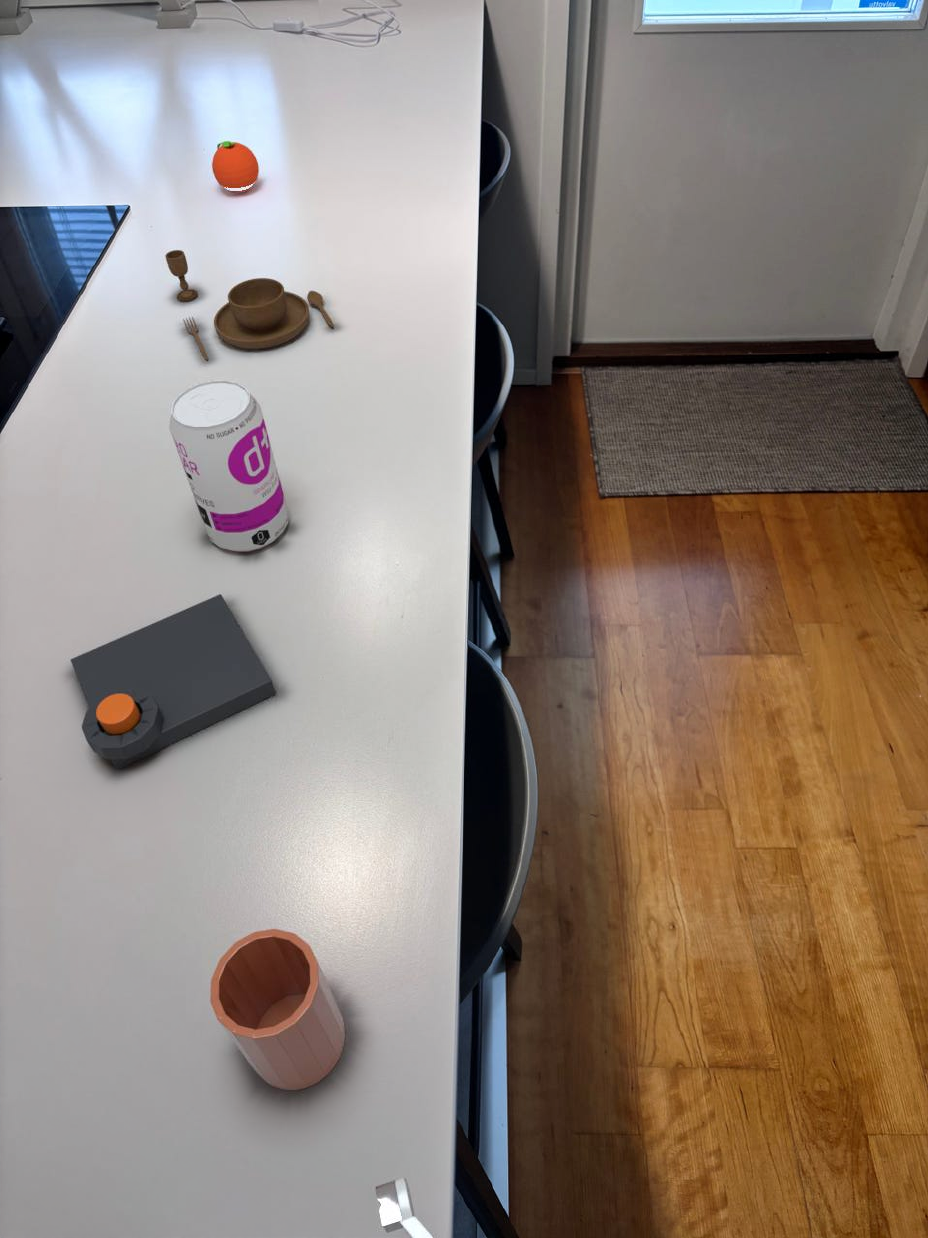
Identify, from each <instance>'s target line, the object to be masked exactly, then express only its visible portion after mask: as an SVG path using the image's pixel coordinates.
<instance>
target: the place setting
mask: <svg viewBox="0 0 928 1238" xmlns="http://www.w3.org/2000/svg"><path fill="white" fill-rule="evenodd" d="M164 257H165V261H166V264H167V266H168V269H169V272H170V273H171V274H172V275H173V276H174V277H177V278H178V280H179V287H180V289H181V290H182V291H180V292H179V293H177V295H176V299H177V301H179V302H181V303H188V302H191V301H194V300H195V299H198V295H199V293H198V291H197V290H195V289H189V283H188V281H187V280H186V275H187V274H188V271H189V265H188V262H187V261H188V260H187V257H186V254H185V252H184V251H183V250H181V249H174V250H171V251H168V252H167V253H166V254H165V256H164ZM306 298H307V301H308V302H309V303H310V304H311V305H312V306H315V307H317V308H318V309H319V310H320V312H321V314H322V316H323V318H324V319H325V321H326V324H328V326H329V327H331V328H334V327H335V325H334V323H333V320H332V318H331V317H330V316H329V314H328V313H327V311H326V310H325V308H324V307H323V305H322V304H323V301H324V298H323V296H322V294H321V293H319V292H317V291H315V290H309V292H308V293H307V296H306ZM227 300H228V302H226V303H225V304H224V305H222V307H220V308H219V310H218V311H217V312H216V314H215V316H214V317H213V318H214V319H213V326H214V329H215V332H216V334H217V335H218V337H220V338H221V339H222V340H223V341H224V342H226V343H227V344H229V345H231V346H234V347H237V348H241V349H249V350H250V349H253V350H256V349H257V350H258V349H267V348H272V347H276V346H278V345H282V344H284V343H286V342H288V341H291V340H292V339H293V338H295V337H296V336H298V335H299V334H300V333H301V332H302V331H303V330H304V329H305V327H306V326H307V324H308V322H309V318H310V308H309V305H308V303H307V301H306V300H305V298H303V297H301V296H300V295H298V294H297V293H295V292H290V291H285V287H284V285H283V284H282V282H280V281H278V280H276V279H274V278H268V277H257V278H251V279H247V280H244V281H241V282H239V283H238V284H236V285H234V286H233V287H232V288H230V290H229V292H228V294H227ZM188 319H189V320H188ZM182 321H183V323H184V326H185V329H186V330H187V333H188V334H190V335H193V337H194V340H195V342H196V344H197V347H198V349H199V351H200V353H201V355H202V356H203V358H204V360H205V361H206V360H209V357H208V354H207V351H206V350H205V347H204V345H203V343H202V341H201V339H200V337H199V335H198V332H199V328H198V325H197V323H196V321H195V319H194V317H193V316H191V317H188V318H187V317H185V319H184V318H183V319H182Z"/></svg>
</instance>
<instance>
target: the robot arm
mask: <svg viewBox="0 0 928 1238" xmlns="http://www.w3.org/2000/svg"><path fill="white" fill-rule="evenodd" d="M375 1195H376V1199H377V1202H378V1204H379V1205H380V1207H379V1216H380V1221H381V1226H382V1228H383V1230H385V1233H387V1234H388V1233H391V1232H395V1231H398V1230H401V1229H403V1230H404V1231H405V1233H406V1234H407V1235H408V1236H409V1237H410V1238H434V1236H433V1235H432V1234H431V1233H430V1232H429V1230H428V1229H427V1228H426V1227H425V1226H424V1224H423V1222H421V1221H420V1220H419V1218H418V1217H417V1216H416V1215H415V1209H414V1206H413V1200H412V1195H411V1191H410V1188H409V1184H408V1181H407V1179H406V1177H405V1176H403V1177H400V1178H396V1179H393V1180H391V1181H388V1182H385V1183H382V1184H380V1185H376V1186H375Z"/></svg>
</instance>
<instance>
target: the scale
mask: <svg viewBox="0 0 928 1238" xmlns="http://www.w3.org/2000/svg"><path fill="white" fill-rule="evenodd" d="M70 662H71V665H72V668H73V670H74V672H75V676H76V678H77V680H78V682H79V685H80V687H81V690H82V692H83V695H84V697H85V700H86V702H87V705H88V707H89V708H88V709H87V710H86V711H85V715H84V718H83V720H82V724H81V730H82V732H83V733H82V734H84V737H85V740H86V743H88V746H89V747H90V748H91V750H92V752H93V753H94V754H97V755H99V756H100V757H103V758H105V759H107V760H111V762H112V764H113V765H114V767H115V768H116V770H120V769H122V768H125V767H127V766H129V765H131V764H133V763H135V762H138V761H139V760H141V759H143V758H146V757H148V756H150V755H152V754H154V753H156V752H158V751H160V750H162V749H164V748H166V747H169V746H170V745H173V744H175V743H177V742H179V741H181V740H183V739H185V738H187V737H190V736H191V735H193V734H196V733H198V732H199V731H202V730H204V729H206V728H208V727H211V726H212V725H215V724H217V723H219V722H221V721H222V720H225V719H227V718H229V717H231V716H233V715H236V714H237V713H239V712H242V711H244V710H246V709H248V708H250V707H252V706H254V705H256V704H258V703H260V702H262V701H265V700H266V699H269V698H271V697H273V696H275V695H277V691H276V688H275V686H274V682H273V680H272V678H271V677H270V675H269V673H268V671H267V670H266V668H265V667H264V665H263V663H262V662H261V660H260V658H259V656H258V655H257V653H256V651H255V650H254V648H253V646H252V645H251V642H250V641H249V639H248V637H247V636H246V634H245V632H244V631H243V629H242V627H241V625H240V624H239V622H238V621H237V618H236V617H235V616H234V614H233V612H232V610H231V608H230V607H229V605H228V604H227V601H226V600H225V598H224V597H223V594H221V593H220V594H217V595H215V596H212V597H210V598H208V599H206V600H203V601H201V602H199V603H196V604H194V605H192V606H189V607H186V608H185V609H183V610H181V611H178V612H176V613H174V614H171V615H169V616H167V617H165V618H162V619H160V620H158V621H155V622H153V623H150V624H149V625H146V626H144V627H141V628H139V629H137V630H135V631H132V632H130V633H128V634H125V635H123V636H121V637H119V638H116V639H114V640H111V641H109V642H107V643H105V644H102V645H101V646H98V647H95V648H94V649H91V650H88V651H86V652H84V653H81V654H79V655H77V656H75V657H73V658H71V659H70ZM119 693H120V694H126V695H129V696H130V697H131V698H132V699H133V700H134V702H135V704H136V706H137V708H138V710H139V712H140V718H139V721H138V723H137V724H136V726H135V727H134V728H133V729H131V730H130V731H128V732H126V733H123V734H119V735H114V734H110V733H108V732H106V731H105V730H104V729H103V727H102V725H101V724H100V722H99V720H98V719H97V716H96V710H97V707H98V705H99V704H100V703H101V702H102V701H103V700H104V699H105V698H107V697H108V696H111V695H114V694H119Z"/></svg>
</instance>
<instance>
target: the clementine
mask: <svg viewBox="0 0 928 1238" xmlns="http://www.w3.org/2000/svg"><path fill="white" fill-rule="evenodd" d="M216 145H217V146H216V151H215V153H214V154H213V157H212V162H211V168H212V173H213V175H214V178H215V181H216V182H217V183H218V184H219V185H220V186H221V187H222V186H223V187H226V188H227V187H228V188H241V187H246V186H249V185H251V184H253V183H254V182H255V181H256V182H257V180H258V178H259V172H260V168H259V167H260V166H259V162H258V160H257V157H256V156H255V153H254V152H253V151H252V150H251V149H250V148H249V147H248V146H247V145H245V144H242V143H240V142H236V141H229V140H226V141H225V140H224V141H222V142H220V143H218V144H216ZM256 182H255V183H256ZM223 187H222V188H223ZM250 189H252V187H250V188H249V189H246V190H242V191H229V190H227V191H228V192H231V193H235V194H236V193H243V192H247V191H249V190H250Z"/></svg>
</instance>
